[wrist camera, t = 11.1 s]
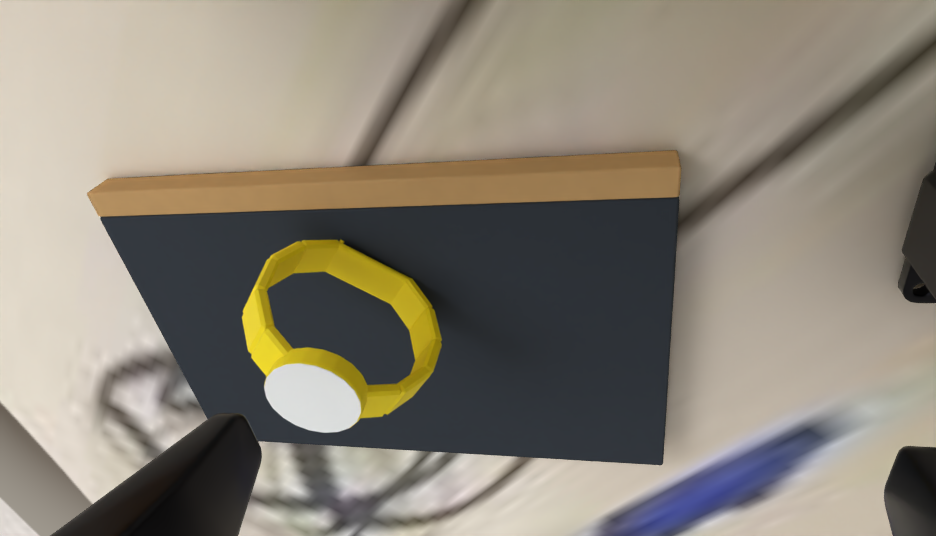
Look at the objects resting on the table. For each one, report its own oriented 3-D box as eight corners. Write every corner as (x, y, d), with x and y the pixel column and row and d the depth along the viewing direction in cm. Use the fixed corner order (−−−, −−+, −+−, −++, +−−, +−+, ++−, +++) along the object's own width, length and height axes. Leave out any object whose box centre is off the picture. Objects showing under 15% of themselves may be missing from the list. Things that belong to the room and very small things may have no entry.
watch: (282, 254, 22) (190, 374, 17) (310, 198, 20) (217, 312, 15) (428, 337, 23) (381, 472, 18) (466, 289, 21) (425, 423, 16)
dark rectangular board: (677, 149, 18) (681, 166, 17) (660, 442, 25) (663, 466, 24) (107, 177, 23) (84, 193, 22) (230, 419, 30) (217, 439, 29)
